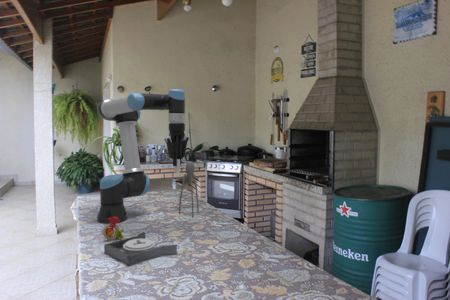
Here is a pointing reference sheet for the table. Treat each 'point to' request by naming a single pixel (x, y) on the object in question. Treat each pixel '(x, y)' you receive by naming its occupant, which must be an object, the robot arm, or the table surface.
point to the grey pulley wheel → (138, 246)
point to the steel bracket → (115, 252)
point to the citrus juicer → (189, 176)
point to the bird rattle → (110, 231)
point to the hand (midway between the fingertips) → (177, 172)
